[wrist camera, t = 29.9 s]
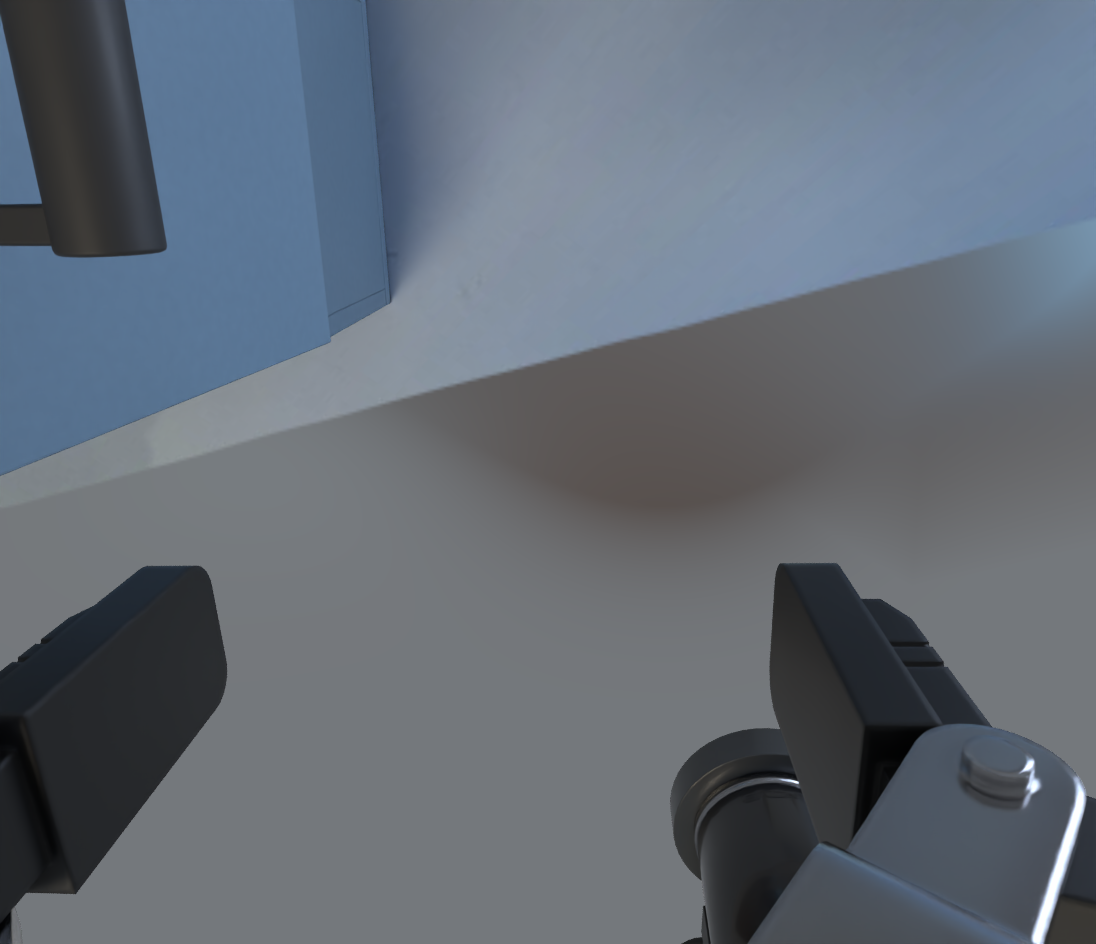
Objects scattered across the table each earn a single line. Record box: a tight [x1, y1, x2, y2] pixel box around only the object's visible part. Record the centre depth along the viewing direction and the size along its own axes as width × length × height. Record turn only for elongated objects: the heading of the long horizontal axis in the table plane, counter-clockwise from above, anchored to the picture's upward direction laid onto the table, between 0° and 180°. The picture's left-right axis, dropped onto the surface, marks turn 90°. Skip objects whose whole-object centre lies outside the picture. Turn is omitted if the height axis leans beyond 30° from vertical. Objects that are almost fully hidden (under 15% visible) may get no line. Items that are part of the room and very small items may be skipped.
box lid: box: [0, 0, 331, 476], centre depth 19 cm, size 16×14×5 cm
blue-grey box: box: [293, 0, 390, 337], centre depth 32 cm, size 16×14×10 cm
